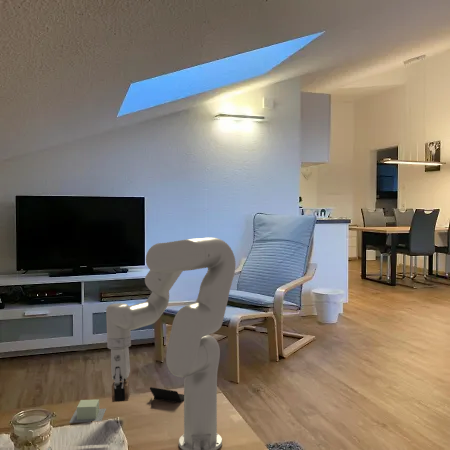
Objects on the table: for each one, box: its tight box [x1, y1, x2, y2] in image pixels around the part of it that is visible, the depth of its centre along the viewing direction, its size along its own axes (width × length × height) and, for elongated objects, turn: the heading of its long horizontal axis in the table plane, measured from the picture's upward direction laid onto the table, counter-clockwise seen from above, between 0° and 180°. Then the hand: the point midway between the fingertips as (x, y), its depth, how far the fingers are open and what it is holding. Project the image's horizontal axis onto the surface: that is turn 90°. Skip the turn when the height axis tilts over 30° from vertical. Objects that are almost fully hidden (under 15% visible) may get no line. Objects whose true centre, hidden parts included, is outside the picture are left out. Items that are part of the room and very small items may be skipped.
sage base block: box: [76, 399, 100, 420], centre depth 153 cm, size 6×6×4 cm
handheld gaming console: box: [149, 386, 184, 404], centre depth 168 cm, size 12×7×10 cm
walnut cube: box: [111, 380, 131, 403], centre depth 152 cm, size 5×5×5 cm
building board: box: [68, 408, 107, 424], centre depth 153 cm, size 10×10×1 cm
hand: (121, 397), depth 152 cm, fingers closed on walnut cube, 5 cm apart
